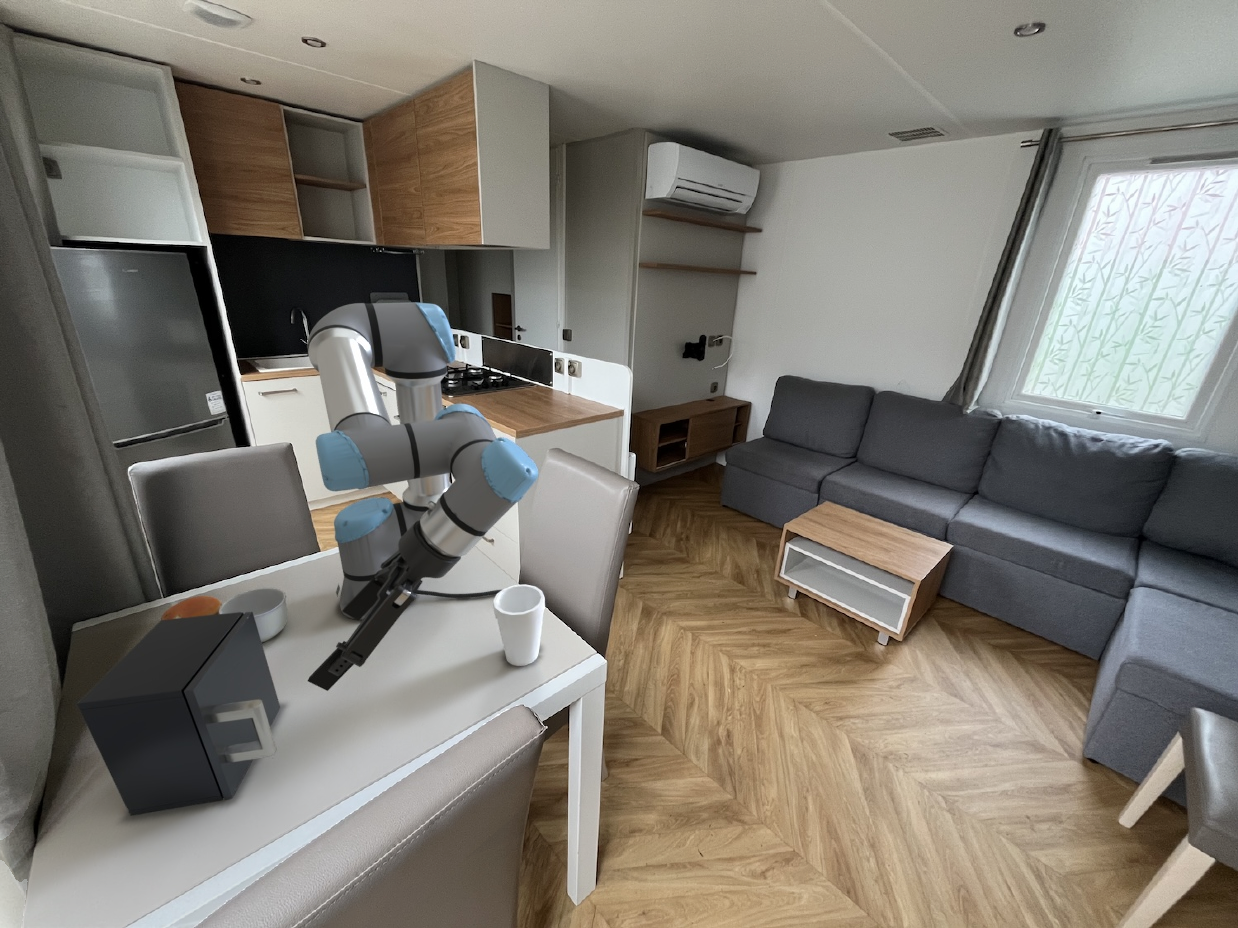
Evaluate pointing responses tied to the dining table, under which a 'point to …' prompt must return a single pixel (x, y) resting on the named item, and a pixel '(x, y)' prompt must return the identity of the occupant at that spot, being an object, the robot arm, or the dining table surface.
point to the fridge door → (235, 705)
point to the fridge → (157, 716)
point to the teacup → (261, 609)
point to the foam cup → (520, 622)
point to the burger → (193, 608)
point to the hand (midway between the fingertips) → (336, 646)
